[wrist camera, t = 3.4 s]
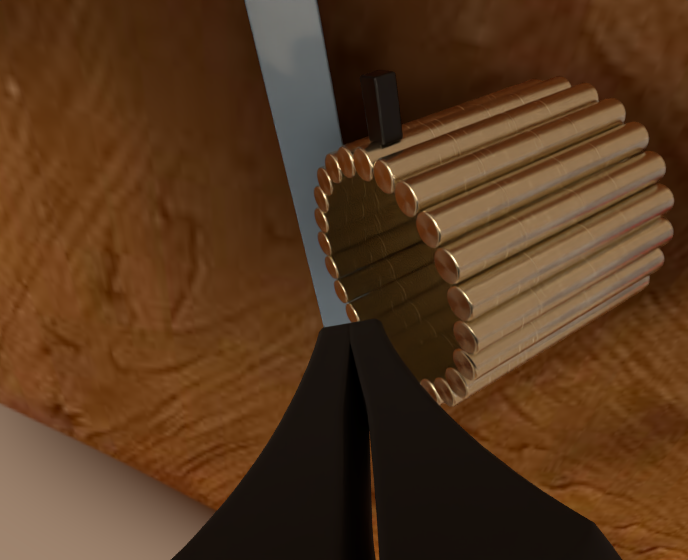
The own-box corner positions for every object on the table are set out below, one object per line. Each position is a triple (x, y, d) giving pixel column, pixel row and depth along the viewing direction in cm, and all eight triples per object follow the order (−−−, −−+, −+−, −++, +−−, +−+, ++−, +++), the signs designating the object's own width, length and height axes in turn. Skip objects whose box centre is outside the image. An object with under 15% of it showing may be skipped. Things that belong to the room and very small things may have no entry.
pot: (575, -2, 17) (840, 24, 8) (562, 276, 23) (715, 465, 14) (286, 56, 18) (254, 136, 9) (342, 314, 23) (356, 519, 14)
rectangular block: (309, -41, 16) (309, -43, 14) (381, 354, 24) (387, 391, 22) (247, -28, 16) (237, -28, 14) (338, 362, 24) (341, 399, 22)
